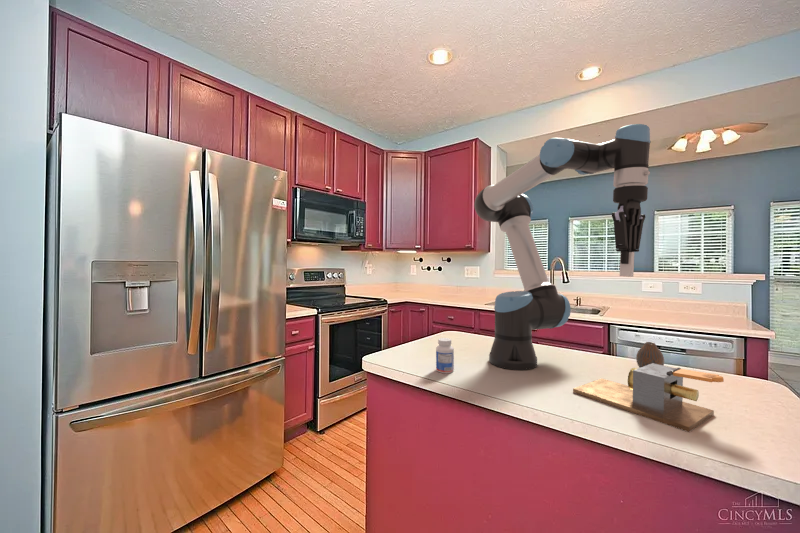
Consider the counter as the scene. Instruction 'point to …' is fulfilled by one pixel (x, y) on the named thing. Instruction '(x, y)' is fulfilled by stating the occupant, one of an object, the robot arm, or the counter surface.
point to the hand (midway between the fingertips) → (626, 276)
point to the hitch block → (649, 397)
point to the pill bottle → (444, 356)
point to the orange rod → (698, 375)
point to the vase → (649, 355)
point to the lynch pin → (672, 389)
